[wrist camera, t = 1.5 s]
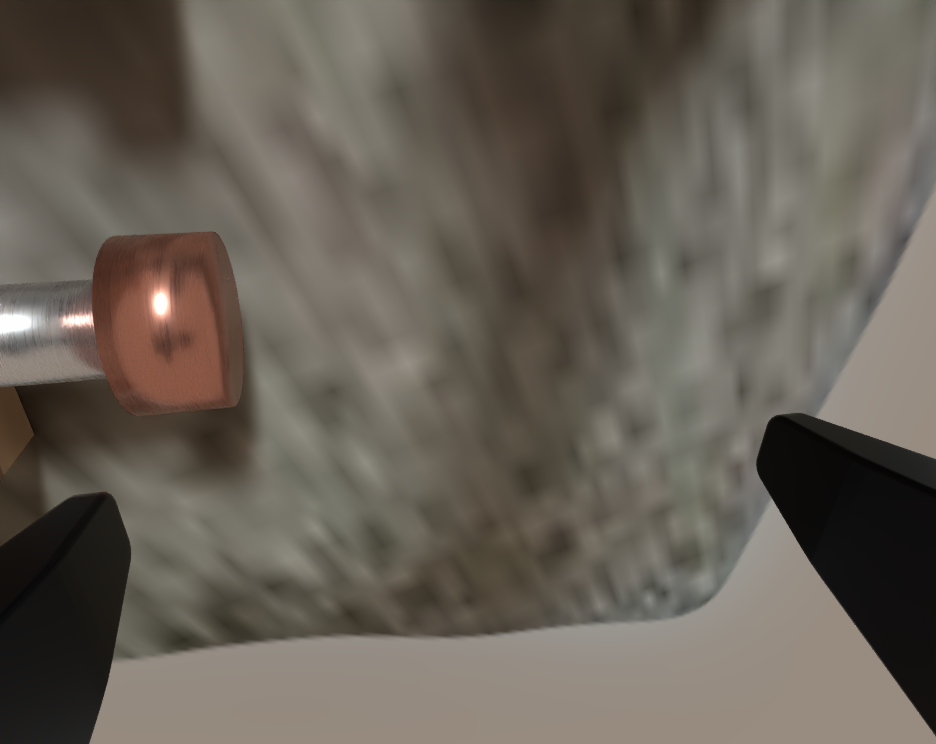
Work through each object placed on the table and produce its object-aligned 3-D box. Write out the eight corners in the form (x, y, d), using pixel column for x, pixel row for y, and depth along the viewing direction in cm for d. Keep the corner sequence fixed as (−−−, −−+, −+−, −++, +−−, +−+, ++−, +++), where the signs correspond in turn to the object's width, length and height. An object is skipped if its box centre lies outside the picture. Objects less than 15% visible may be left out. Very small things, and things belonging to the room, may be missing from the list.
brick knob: (222, 212, 14) (190, 265, 11) (249, 357, 16) (229, 441, 13) (-165, 226, 13) (-342, 293, 10) (-85, 385, 15) (-207, 487, 11)
